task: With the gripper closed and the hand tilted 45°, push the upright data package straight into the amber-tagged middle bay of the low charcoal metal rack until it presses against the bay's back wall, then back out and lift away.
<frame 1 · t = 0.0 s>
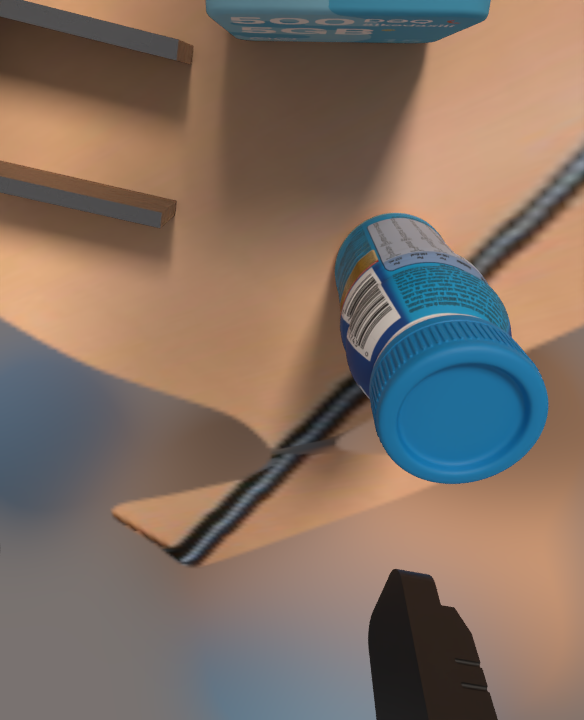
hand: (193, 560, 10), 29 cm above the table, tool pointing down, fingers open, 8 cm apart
beverage bottle: (389, 266, 37), on the table
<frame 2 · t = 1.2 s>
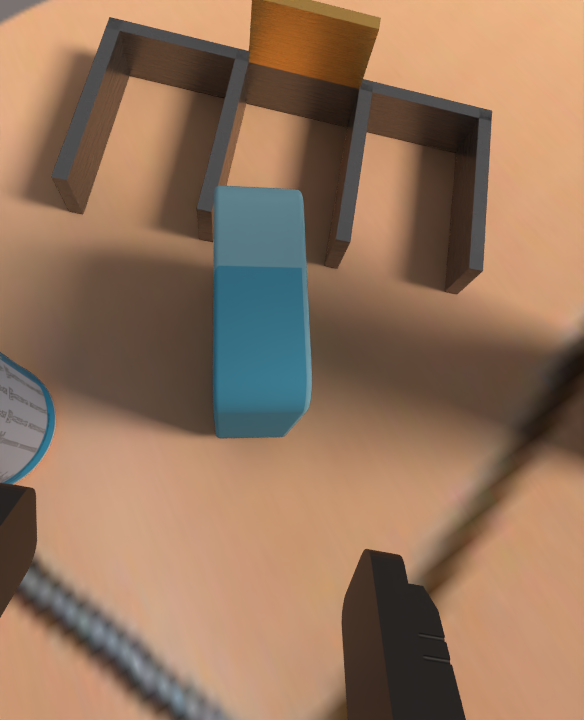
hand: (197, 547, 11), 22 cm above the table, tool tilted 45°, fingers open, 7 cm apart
data package: (248, 355, 36), on the table
sorting rack: (284, 175, 40), on the table
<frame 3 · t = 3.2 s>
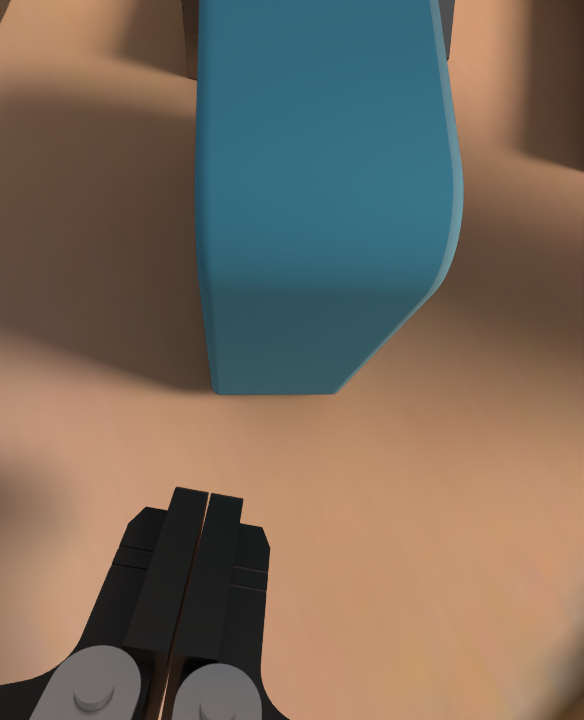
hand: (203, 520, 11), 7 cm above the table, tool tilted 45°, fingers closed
data package: (270, 261, 21), on the table
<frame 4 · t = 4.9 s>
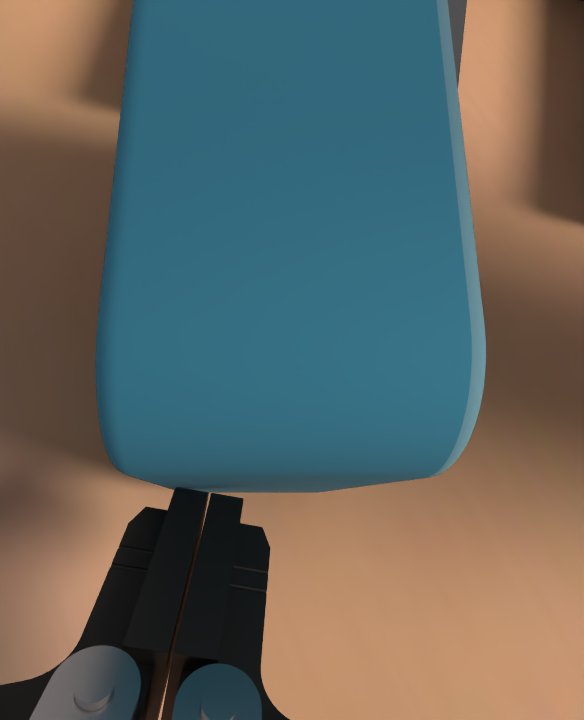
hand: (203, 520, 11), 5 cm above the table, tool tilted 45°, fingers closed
data package: (251, 323, 18), on the table, touching gripper
sorting rack: (316, 24, 22), on the table
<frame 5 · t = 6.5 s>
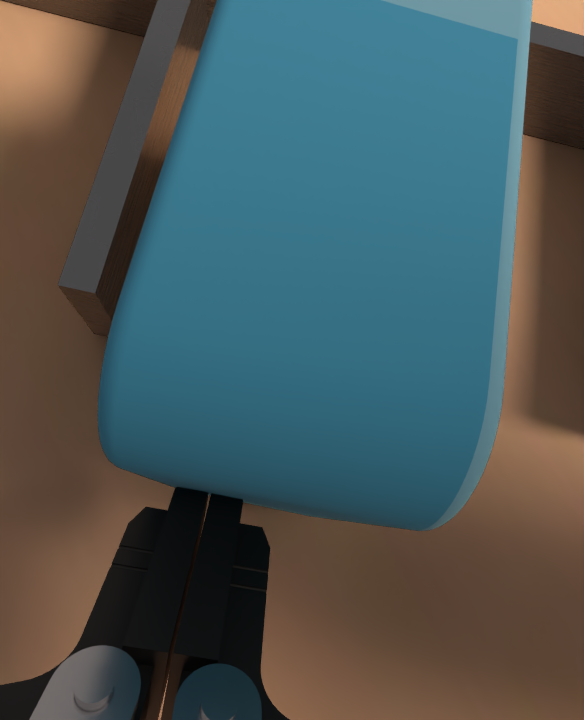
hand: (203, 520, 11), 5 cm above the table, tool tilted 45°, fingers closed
data package: (279, 335, 18), on the table, touching gripper
sorting rack: (280, 196, 20), on the table
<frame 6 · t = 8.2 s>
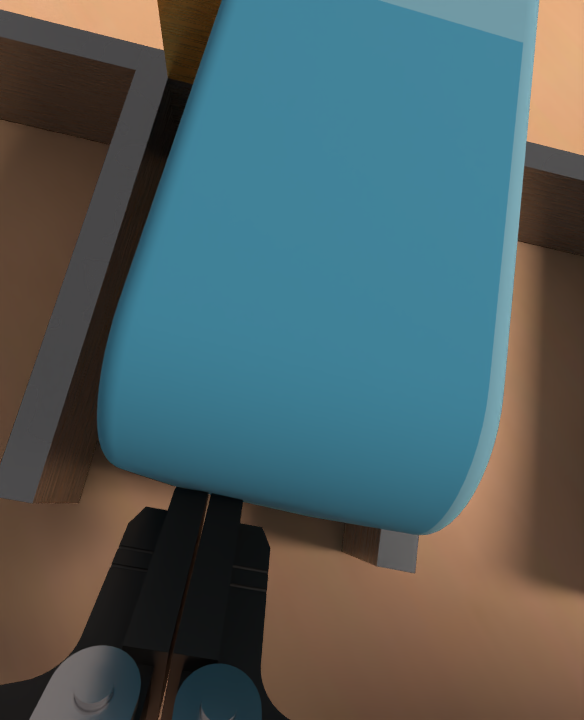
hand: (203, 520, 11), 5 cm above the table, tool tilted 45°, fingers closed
data package: (281, 335, 18), on the table, touching gripper, sorting rack
sorting rack: (255, 326, 18), on the table
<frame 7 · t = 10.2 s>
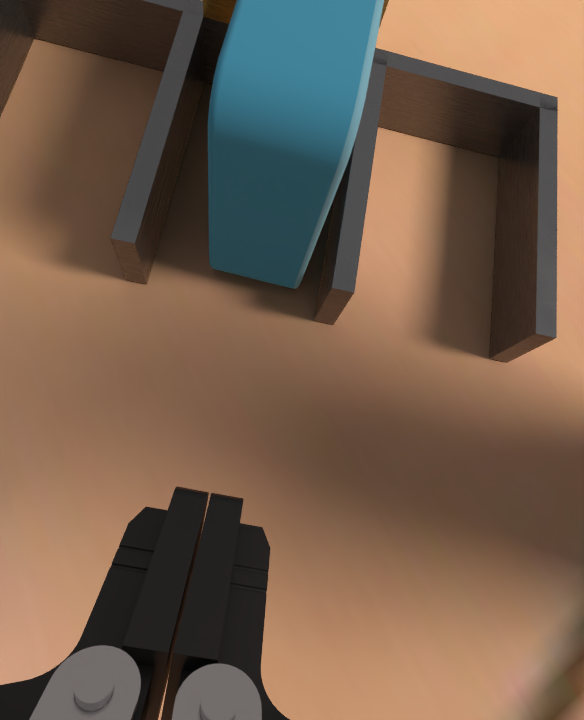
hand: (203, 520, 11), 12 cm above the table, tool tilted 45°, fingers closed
data package: (275, 194, 28), on the table, touching sorting rack
sorting rack: (257, 186, 27), on the table
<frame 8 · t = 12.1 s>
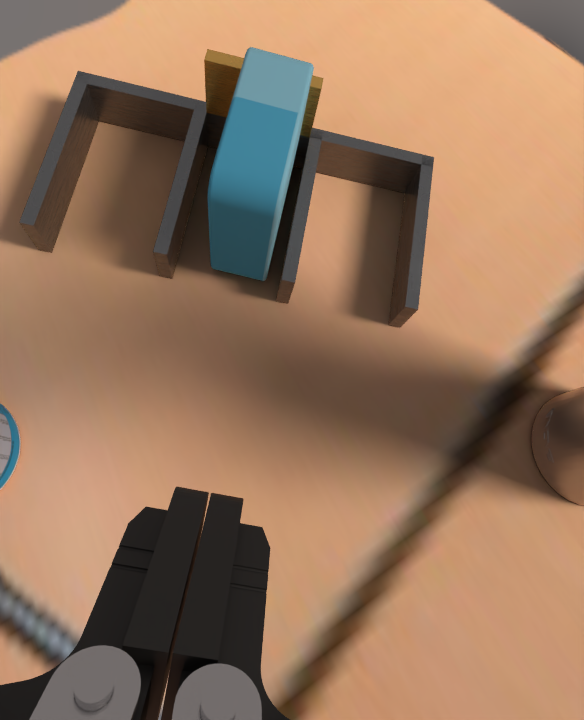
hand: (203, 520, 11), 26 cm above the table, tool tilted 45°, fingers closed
data package: (253, 220, 43), on the table, touching sorting rack
sorting rack: (241, 215, 43), on the table
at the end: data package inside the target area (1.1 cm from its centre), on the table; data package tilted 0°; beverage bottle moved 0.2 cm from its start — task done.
